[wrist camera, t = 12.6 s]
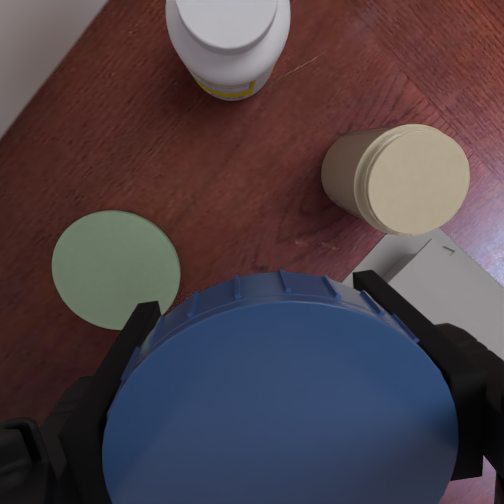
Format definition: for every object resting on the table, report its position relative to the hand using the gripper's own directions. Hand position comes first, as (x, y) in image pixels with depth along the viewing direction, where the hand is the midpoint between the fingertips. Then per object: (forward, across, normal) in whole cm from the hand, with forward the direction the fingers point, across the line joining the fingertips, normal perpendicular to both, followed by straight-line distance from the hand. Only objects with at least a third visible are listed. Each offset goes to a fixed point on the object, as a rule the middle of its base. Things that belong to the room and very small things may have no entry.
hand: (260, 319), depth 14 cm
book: (+19, +17, -14) cm, 29 cm away
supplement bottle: (+19, +1, +13) cm, 23 cm away
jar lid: (-6, 0, 0) cm, 6 cm away
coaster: (+19, -12, -3) cm, 22 cm away
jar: (+19, +10, +3) cm, 22 cm away
